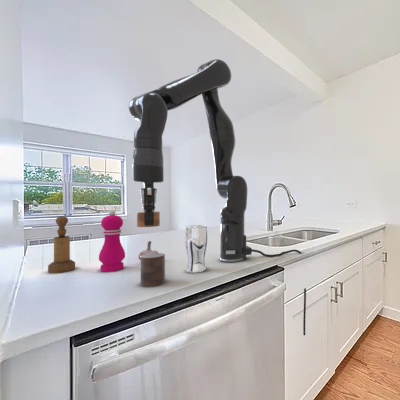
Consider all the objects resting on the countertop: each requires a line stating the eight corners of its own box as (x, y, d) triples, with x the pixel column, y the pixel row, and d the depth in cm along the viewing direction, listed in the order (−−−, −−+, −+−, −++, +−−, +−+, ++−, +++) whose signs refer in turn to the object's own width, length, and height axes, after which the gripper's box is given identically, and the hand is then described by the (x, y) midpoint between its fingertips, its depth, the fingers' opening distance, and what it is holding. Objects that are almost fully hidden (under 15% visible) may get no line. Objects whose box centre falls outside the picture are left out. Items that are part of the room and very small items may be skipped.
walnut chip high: (163, 265, 77) (163, 252, 77) (165, 270, 72) (165, 256, 72) (140, 268, 74) (140, 254, 73) (140, 273, 68) (140, 258, 68)
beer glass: (181, 270, 86) (181, 225, 85) (201, 266, 90) (202, 224, 90) (190, 274, 81) (190, 227, 80) (210, 270, 86) (211, 226, 85)
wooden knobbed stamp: (45, 274, 80) (45, 217, 80) (50, 269, 85) (50, 216, 85) (74, 271, 84) (73, 216, 84) (76, 266, 89) (76, 215, 89)
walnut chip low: (163, 278, 77) (163, 265, 77) (165, 284, 72) (165, 270, 72) (140, 281, 74) (140, 268, 74) (140, 288, 69) (140, 273, 68)
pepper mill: (111, 273, 82) (111, 211, 82) (93, 271, 83) (92, 210, 83) (130, 267, 89) (130, 210, 89) (113, 265, 90) (113, 209, 90)
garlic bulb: (148, 259, 100) (148, 239, 100) (165, 260, 98) (165, 239, 98) (132, 264, 92) (132, 242, 92) (150, 265, 91) (150, 243, 91)
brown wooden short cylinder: (159, 224, 76) (159, 211, 76) (160, 226, 72) (160, 212, 72) (137, 225, 73) (137, 211, 73) (137, 227, 69) (136, 212, 69)
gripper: (165, 163, 68) (165, 226, 68) (161, 168, 80) (161, 221, 81) (132, 161, 64) (132, 227, 64) (133, 166, 76) (133, 222, 77)
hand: (148, 224), depth 72 cm, fingers closed on brown wooden short cylinder, 5 cm apart
